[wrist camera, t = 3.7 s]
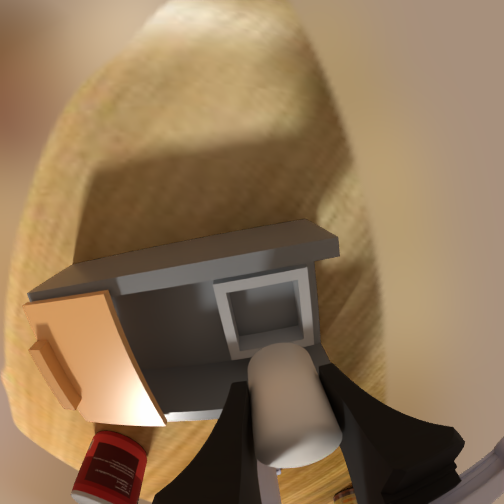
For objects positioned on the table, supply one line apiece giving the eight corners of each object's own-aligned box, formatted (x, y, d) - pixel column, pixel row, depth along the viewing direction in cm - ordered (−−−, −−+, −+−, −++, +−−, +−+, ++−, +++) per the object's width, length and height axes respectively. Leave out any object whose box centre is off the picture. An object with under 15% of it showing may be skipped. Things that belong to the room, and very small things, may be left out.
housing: (318, 345, 22) (341, 395, 16) (115, 372, 22) (92, 417, 16) (305, 218, 19) (338, 236, 13) (72, 264, 19) (27, 293, 13)
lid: (167, 420, 15) (162, 439, 13) (88, 416, 15) (81, 431, 13) (108, 289, 13) (93, 304, 11) (27, 302, 12) (11, 313, 11)
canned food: (112, 458, 26) (94, 514, 15) (84, 425, 24) (56, 487, 13) (157, 463, 26) (146, 527, 16) (132, 431, 24) (110, 504, 14)
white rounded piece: (313, 382, 13) (340, 455, 8) (254, 395, 13) (263, 473, 8) (308, 335, 12) (343, 412, 7) (241, 350, 12) (246, 434, 7)
